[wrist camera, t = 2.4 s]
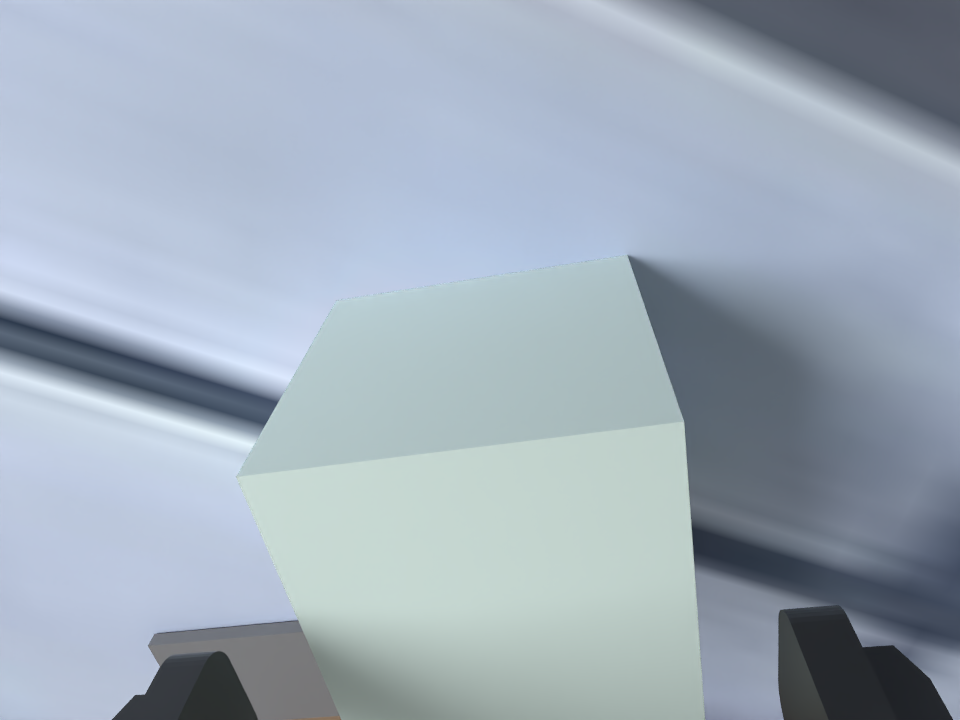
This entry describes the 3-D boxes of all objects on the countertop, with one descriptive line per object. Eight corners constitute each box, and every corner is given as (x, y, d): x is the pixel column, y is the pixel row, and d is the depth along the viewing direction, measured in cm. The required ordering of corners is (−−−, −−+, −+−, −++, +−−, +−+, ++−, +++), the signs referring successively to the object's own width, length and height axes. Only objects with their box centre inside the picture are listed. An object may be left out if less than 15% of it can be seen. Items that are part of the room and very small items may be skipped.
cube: (336, 298, 15) (236, 477, 10) (626, 253, 14) (683, 421, 9) (404, 518, 18) (353, 748, 13) (651, 491, 17) (705, 725, 12)
